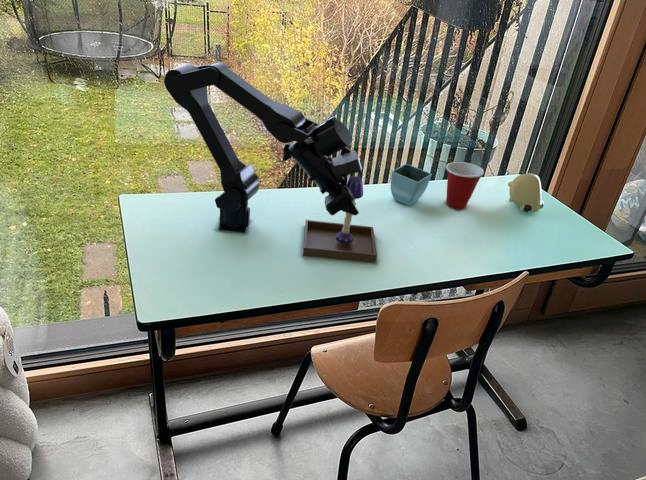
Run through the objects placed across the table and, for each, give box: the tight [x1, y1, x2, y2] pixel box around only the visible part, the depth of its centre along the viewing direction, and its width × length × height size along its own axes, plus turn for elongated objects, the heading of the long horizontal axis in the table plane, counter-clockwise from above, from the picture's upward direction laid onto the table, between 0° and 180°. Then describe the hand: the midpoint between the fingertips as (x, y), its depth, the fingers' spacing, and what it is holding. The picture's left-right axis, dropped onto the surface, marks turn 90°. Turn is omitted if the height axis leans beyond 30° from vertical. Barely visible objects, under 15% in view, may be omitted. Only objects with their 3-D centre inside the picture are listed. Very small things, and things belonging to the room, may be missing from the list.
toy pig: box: [507, 173, 545, 214], centre depth 171 cm, size 10×12×11 cm
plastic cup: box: [445, 161, 485, 211], centre depth 164 cm, size 11×11×12 cm
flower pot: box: [390, 163, 432, 207], centre depth 162 cm, size 9×9×9 cm
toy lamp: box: [336, 175, 364, 244], centre depth 134 cm, size 5×5×17 cm
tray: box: [302, 219, 378, 264], centre depth 138 cm, size 17×13×2 cm
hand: (355, 209), depth 134 cm, fingers closed on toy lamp, 4 cm apart
